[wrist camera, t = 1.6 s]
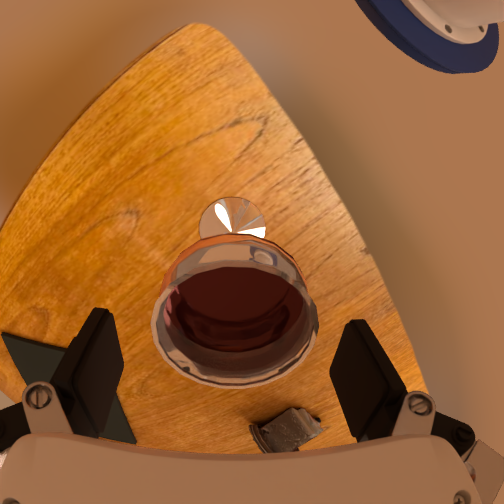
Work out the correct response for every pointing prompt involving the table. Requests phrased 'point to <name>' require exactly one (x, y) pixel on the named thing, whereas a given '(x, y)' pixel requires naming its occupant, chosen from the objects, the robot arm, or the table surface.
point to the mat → (42, 369)
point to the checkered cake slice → (286, 431)
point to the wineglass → (234, 304)
